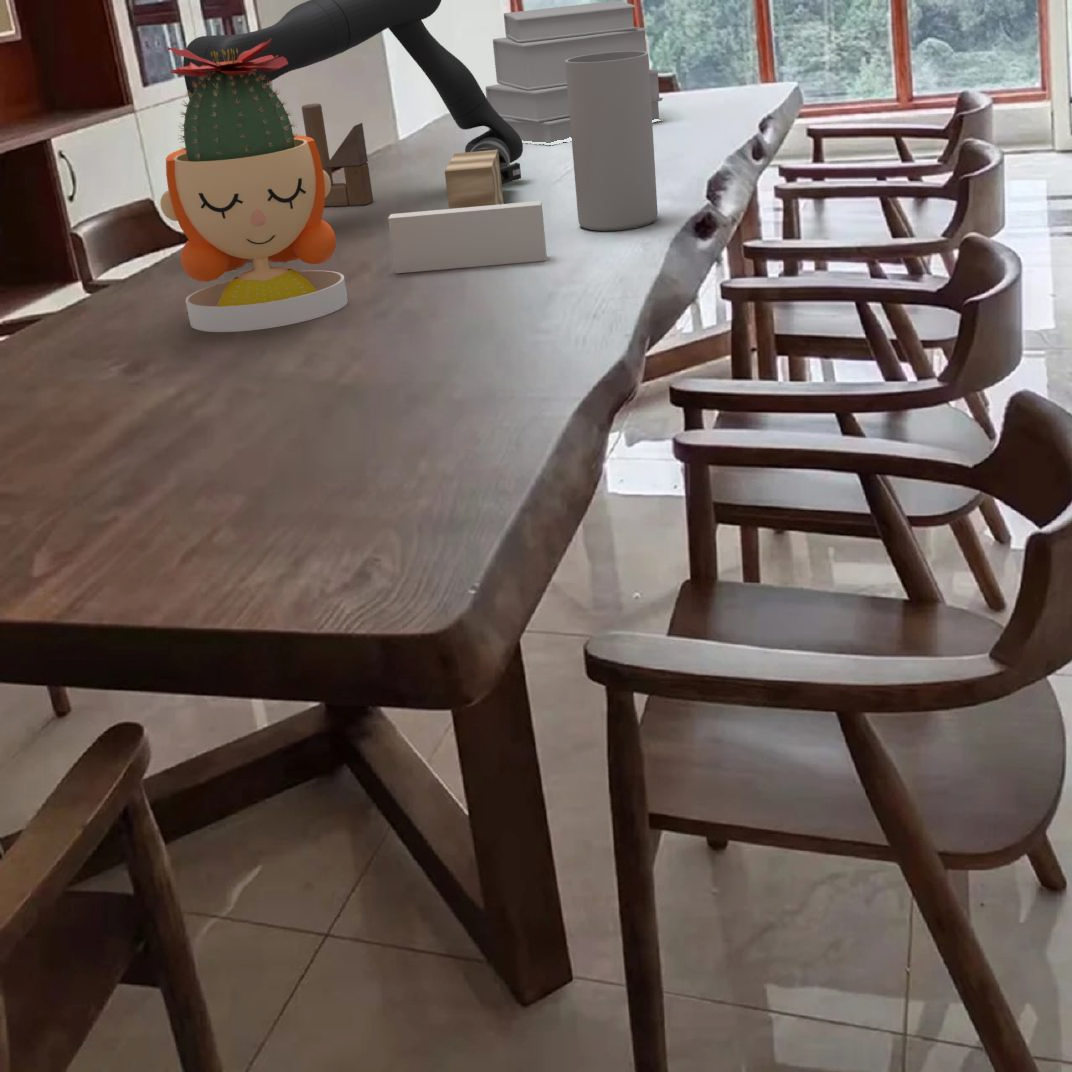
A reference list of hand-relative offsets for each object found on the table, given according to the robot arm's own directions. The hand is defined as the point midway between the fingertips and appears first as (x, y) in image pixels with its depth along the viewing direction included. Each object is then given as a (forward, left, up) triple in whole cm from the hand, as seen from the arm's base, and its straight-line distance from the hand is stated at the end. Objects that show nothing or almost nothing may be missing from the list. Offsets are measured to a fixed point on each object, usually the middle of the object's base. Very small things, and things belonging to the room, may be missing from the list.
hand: (480, 183), depth 226 cm
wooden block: (-10, +39, -7) cm, 41 cm away
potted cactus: (-45, -24, -7) cm, 52 cm away
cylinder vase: (+15, -18, -7) cm, 24 cm away
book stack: (+58, +73, -7) cm, 94 cm away
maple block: (-5, -8, -7) cm, 12 cm away
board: (-14, -25, -7) cm, 29 cm away
